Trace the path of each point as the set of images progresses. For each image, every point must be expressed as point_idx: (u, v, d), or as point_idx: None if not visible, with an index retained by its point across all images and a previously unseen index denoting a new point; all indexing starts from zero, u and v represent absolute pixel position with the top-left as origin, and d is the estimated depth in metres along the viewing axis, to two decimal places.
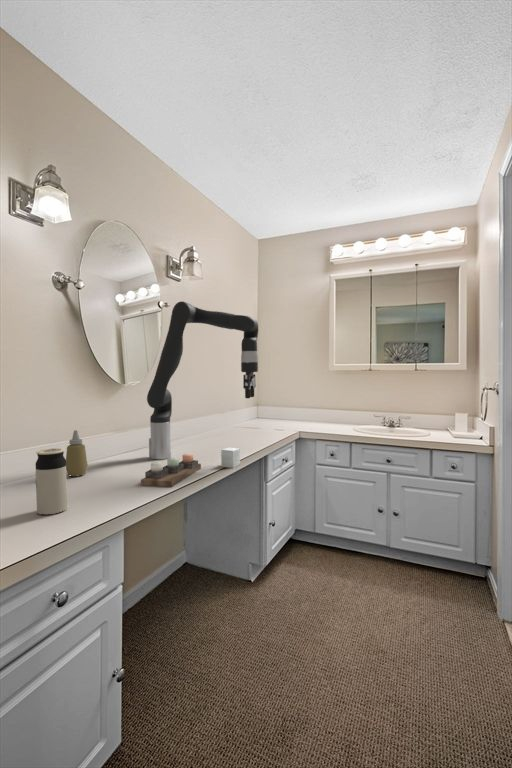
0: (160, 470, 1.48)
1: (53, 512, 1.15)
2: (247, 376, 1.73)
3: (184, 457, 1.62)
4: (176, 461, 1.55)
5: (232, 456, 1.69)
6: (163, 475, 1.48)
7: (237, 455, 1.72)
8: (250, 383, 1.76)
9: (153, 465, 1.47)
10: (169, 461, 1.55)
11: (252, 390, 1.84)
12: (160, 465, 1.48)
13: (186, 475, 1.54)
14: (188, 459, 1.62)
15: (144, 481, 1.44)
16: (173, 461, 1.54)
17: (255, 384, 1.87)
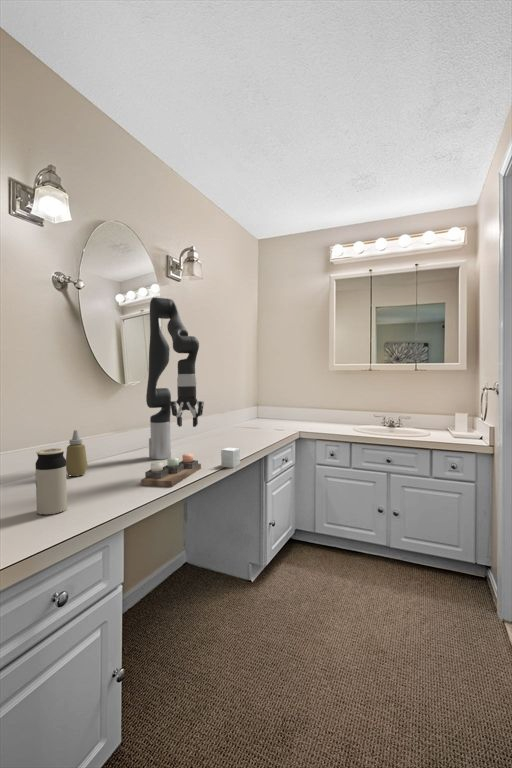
0: (160, 470, 1.48)
1: (53, 512, 1.15)
2: (203, 403, 1.62)
3: (184, 457, 1.62)
4: (176, 461, 1.55)
5: (232, 456, 1.69)
6: (163, 475, 1.48)
7: (237, 455, 1.72)
8: (195, 410, 1.64)
9: (153, 465, 1.47)
10: (169, 461, 1.55)
11: (181, 418, 1.64)
12: (160, 465, 1.48)
13: (186, 475, 1.54)
14: (188, 459, 1.62)
15: (144, 481, 1.44)
16: (173, 461, 1.54)
17: None
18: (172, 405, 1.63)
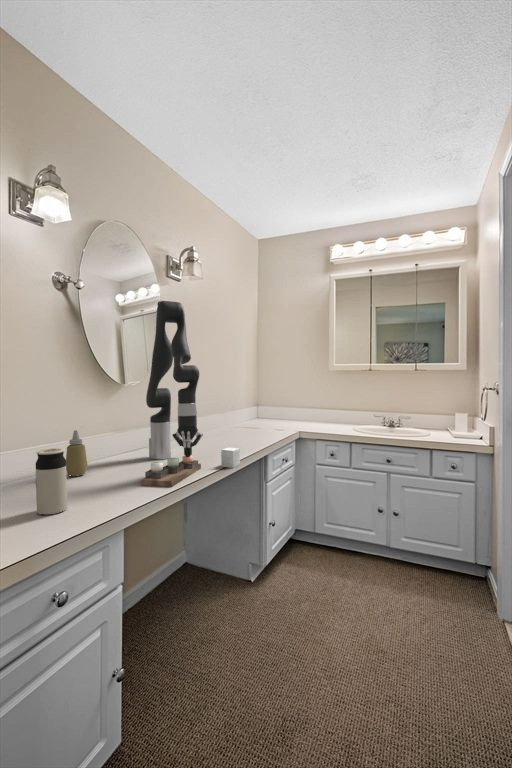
0: (160, 470, 1.48)
1: (53, 512, 1.15)
2: (201, 436, 1.63)
3: (184, 459, 1.62)
4: (176, 461, 1.55)
5: (232, 456, 1.69)
6: (163, 475, 1.48)
7: (237, 455, 1.72)
8: (192, 440, 1.64)
9: (153, 465, 1.47)
10: (169, 461, 1.55)
11: None
12: (160, 465, 1.48)
13: (186, 475, 1.54)
14: (188, 461, 1.62)
15: (144, 481, 1.44)
16: (173, 461, 1.54)
17: None
18: (175, 437, 1.63)
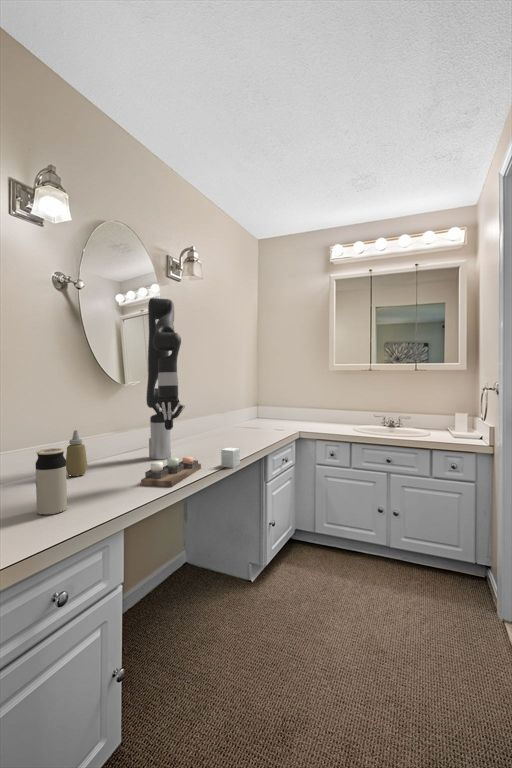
0: (160, 470, 1.48)
1: (53, 512, 1.15)
2: (183, 408, 1.53)
3: (184, 460, 1.62)
4: (176, 461, 1.55)
5: (232, 456, 1.69)
6: (163, 475, 1.48)
7: (237, 455, 1.72)
8: (173, 412, 1.54)
9: (153, 465, 1.47)
10: (169, 461, 1.55)
11: None
12: (160, 465, 1.48)
13: (186, 475, 1.54)
14: (188, 462, 1.62)
15: (144, 481, 1.44)
16: (173, 461, 1.54)
17: None
18: (155, 409, 1.53)
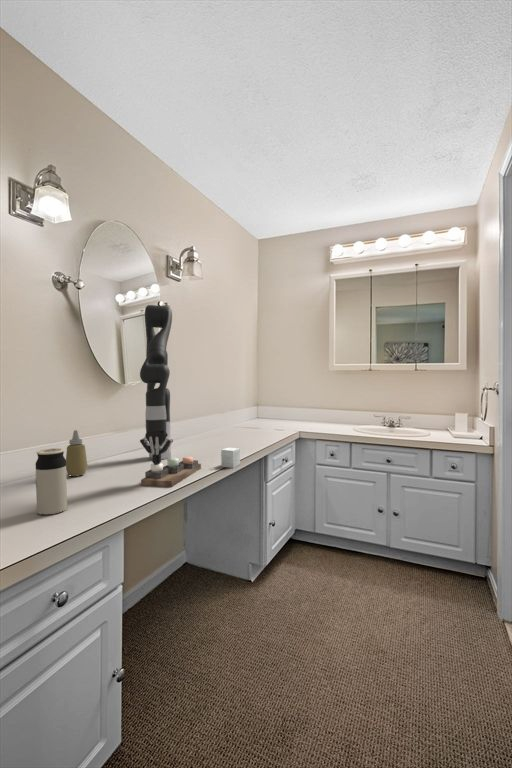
0: (160, 471, 1.48)
1: (53, 512, 1.15)
2: (171, 442, 1.48)
3: (184, 460, 1.62)
4: (176, 461, 1.55)
5: (232, 456, 1.69)
6: (163, 475, 1.48)
7: (237, 455, 1.72)
8: (162, 446, 1.50)
9: (153, 466, 1.47)
10: (169, 461, 1.55)
11: None
12: (160, 466, 1.48)
13: (186, 475, 1.54)
14: (188, 462, 1.62)
15: (144, 481, 1.44)
16: (173, 461, 1.54)
17: None
18: (143, 443, 1.49)
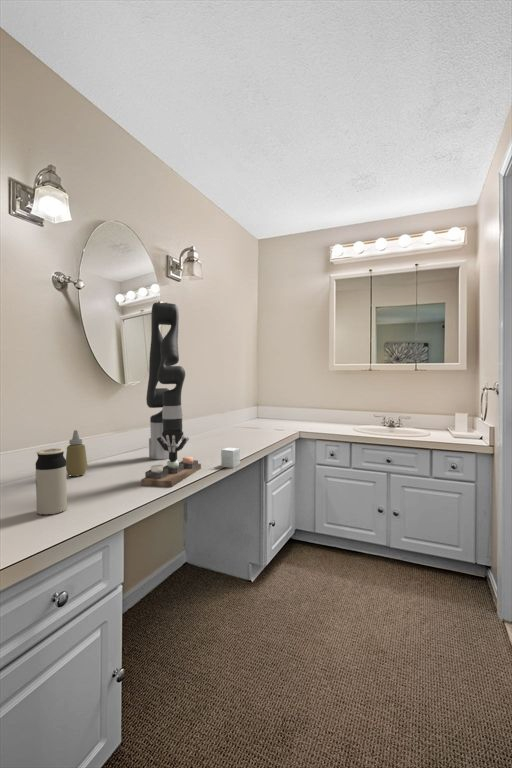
0: None
1: (53, 512, 1.15)
2: (187, 440, 1.55)
3: (184, 460, 1.62)
4: (176, 464, 1.55)
5: (232, 456, 1.69)
6: (163, 475, 1.48)
7: (237, 455, 1.72)
8: (178, 444, 1.57)
9: (153, 468, 1.47)
10: (169, 464, 1.55)
11: None
12: (160, 468, 1.48)
13: (186, 475, 1.54)
14: (188, 462, 1.62)
15: (144, 481, 1.44)
16: (173, 464, 1.54)
17: None
18: (160, 441, 1.56)
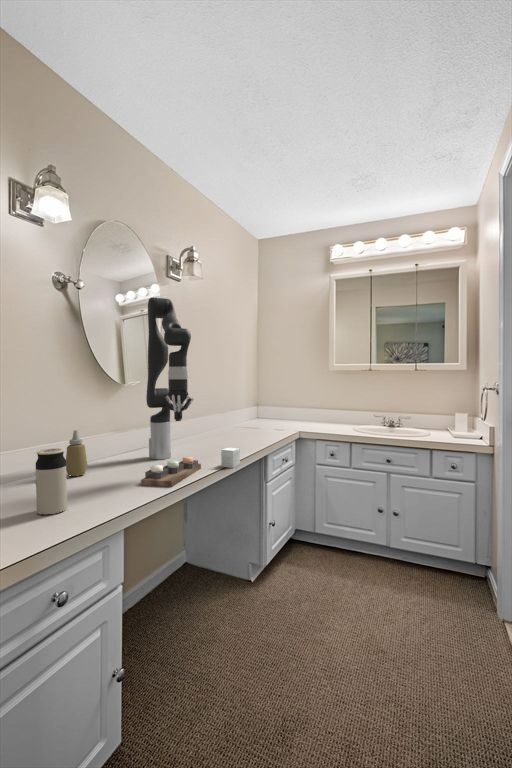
0: None
1: (53, 512, 1.15)
2: (192, 400, 1.61)
3: (184, 460, 1.62)
4: (176, 464, 1.55)
5: (232, 456, 1.69)
6: (163, 475, 1.48)
7: (237, 455, 1.72)
8: (183, 404, 1.62)
9: (153, 468, 1.47)
10: (169, 464, 1.55)
11: None
12: (160, 468, 1.48)
13: (186, 475, 1.54)
14: (188, 462, 1.62)
15: (144, 481, 1.44)
16: (173, 464, 1.54)
17: None
18: (166, 401, 1.61)
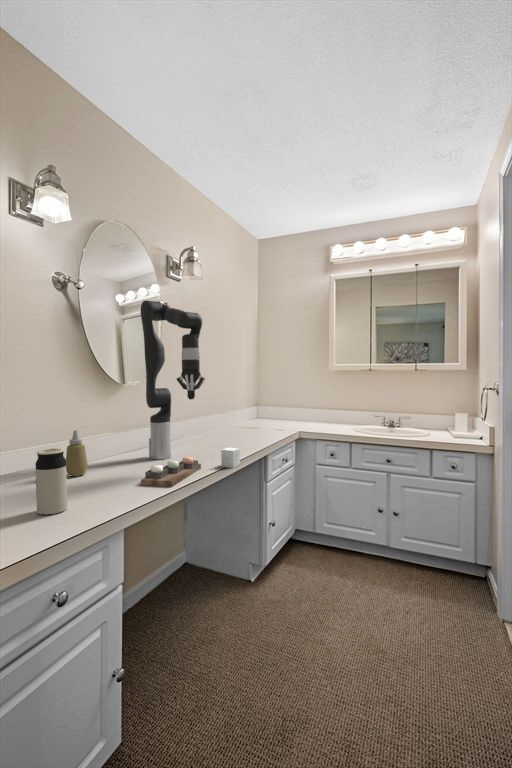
0: None
1: (53, 512, 1.15)
2: (204, 380, 1.71)
3: (184, 460, 1.62)
4: (176, 464, 1.55)
5: (232, 456, 1.69)
6: (163, 475, 1.48)
7: (237, 455, 1.72)
8: (195, 384, 1.73)
9: (153, 468, 1.47)
10: (169, 464, 1.55)
11: None
12: (160, 468, 1.48)
13: (186, 475, 1.54)
14: (188, 462, 1.62)
15: (144, 481, 1.44)
16: (173, 464, 1.54)
17: None
18: (179, 380, 1.72)
